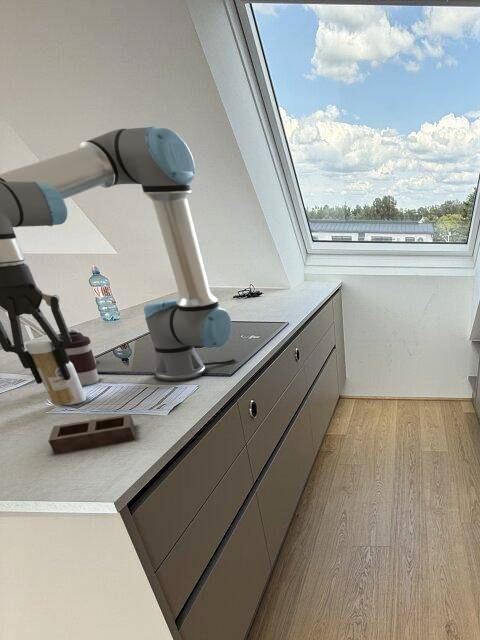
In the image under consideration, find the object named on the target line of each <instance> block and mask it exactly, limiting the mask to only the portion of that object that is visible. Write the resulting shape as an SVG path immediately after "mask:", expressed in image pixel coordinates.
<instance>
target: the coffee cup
mask: <svg viewBox="0 0 480 640" xmlns="http://www.w3.org/2000/svg"><path fill="white" fill-rule="evenodd" d="M69 334H70V336H71V339H72V343H71V345H69V346H66V347H65V350H66V352H67V354H68V357H69V359H70V360H69V361H70V362H71V363H72V364H73V366H74V368H75V371H76V373H77V376H78V378H79V381H80V383H81V386H88V385H89V386H90V385H93V384H96V383H98V382H99V381H100V377H99V373H98V370H97V362H96V363H95V360H96V359H95V360H94V357H95V355H94V353H93V349H92V348H91V346H90V344H91V339H90V337H89V336H86V335H83V333H82V332H80V331H78V332H70V331H69ZM57 335H58V336H59V338H60V339H61V340H63V338H62V336H61V333H57ZM50 342H51V343H52V341H50ZM52 345H53V348H56V347H55V346H54V344H53V343H52Z"/></svg>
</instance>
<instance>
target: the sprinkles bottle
mask: <svg viewBox="0 0 480 640" xmlns="http://www.w3.org/2000/svg"><path fill="white" fill-rule="evenodd" d="M51 342H52V341H51V340H48V339H47V340H44V339H43V340H35V341H34V340H33V341H29V342H27V343H26V344H25V349H26V351H28V352H29V353H30V355H31V356H32V359H33V361H34V364H35V366H36V369H37V371H38V373H39V375H40V378H41V380H42V384H43V386H44V389H45V391H46V392H47V394H48V396H49V398H50V401H51V404H52V405H55V406H65V405H64V404H68V403H71V402H73V401H74V400H75V398H74V396H73V395H72V392H71V390H70V388H69V384H68V382H67V380H65V378H64V375H63V373H62V371H61V368H60V366H59V364H58V361H57V359H56V356H55V354H54V352H53V350H54V348H53V345H52V343H51Z"/></svg>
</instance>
